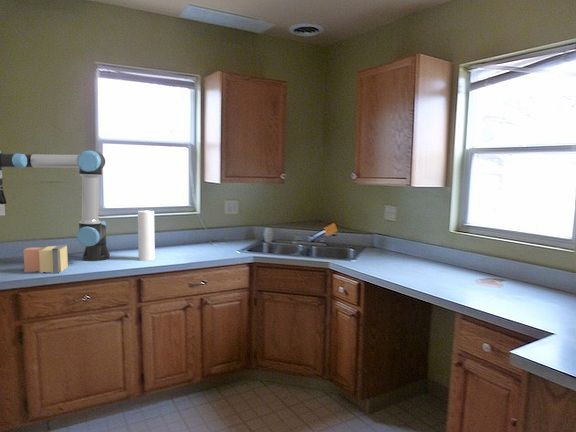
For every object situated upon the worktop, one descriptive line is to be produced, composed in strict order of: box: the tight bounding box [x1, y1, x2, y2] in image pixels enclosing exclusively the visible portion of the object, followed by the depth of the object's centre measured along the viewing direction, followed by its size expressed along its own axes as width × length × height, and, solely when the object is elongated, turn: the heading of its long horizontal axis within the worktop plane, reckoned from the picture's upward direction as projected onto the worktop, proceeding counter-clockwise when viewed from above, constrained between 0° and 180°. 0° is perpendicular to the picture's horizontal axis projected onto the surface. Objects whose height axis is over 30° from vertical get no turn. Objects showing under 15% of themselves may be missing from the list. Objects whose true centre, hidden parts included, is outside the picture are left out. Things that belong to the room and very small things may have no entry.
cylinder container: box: [137, 209, 156, 262], centre depth 252 cm, size 9×9×30 cm
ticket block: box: [39, 243, 69, 274], centre depth 222 cm, size 10×15×13 cm, turn 13°
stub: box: [23, 246, 46, 273], centre depth 220 cm, size 8×6×12 cm
